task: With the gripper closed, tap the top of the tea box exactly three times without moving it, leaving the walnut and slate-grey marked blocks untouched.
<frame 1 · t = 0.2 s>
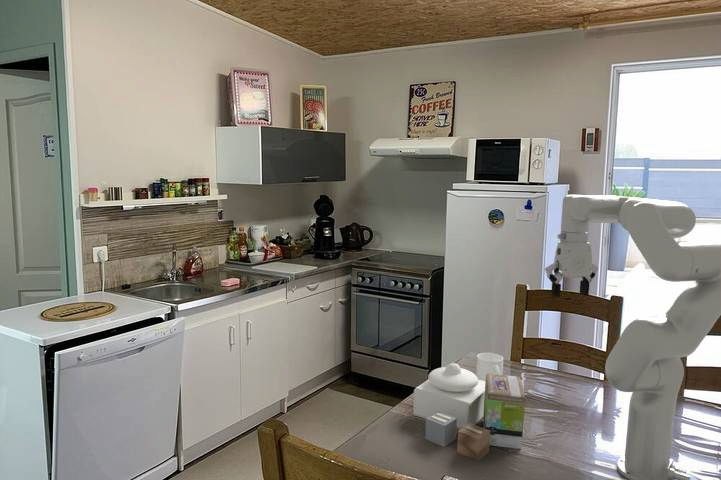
hand: (570, 295, 155), 37 cm above the table, tool pointing down, fingers open, 9 cm apart
walnut marked block: (473, 452, 137), on the table
tea box: (501, 434, 147), on the table
mug: (490, 389, 177), on the table
slate marked block: (440, 439, 144), on the table
butter dish: (452, 413, 160), on the table
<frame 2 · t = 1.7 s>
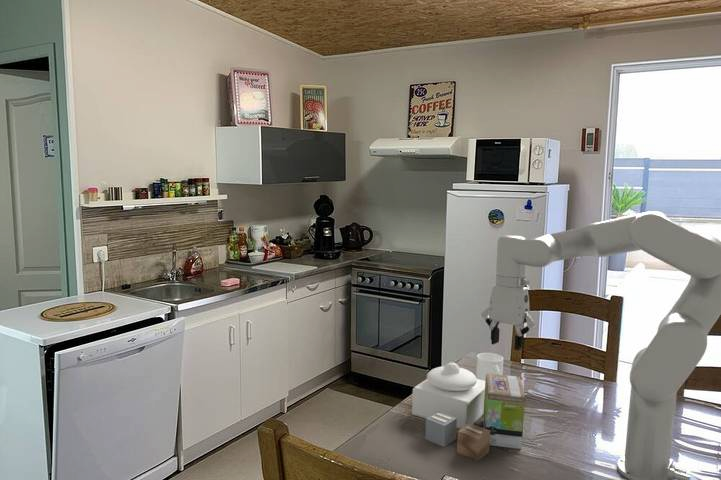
hand: (506, 345, 144), 26 cm above the table, tool pointing down, fingers open, 6 cm apart
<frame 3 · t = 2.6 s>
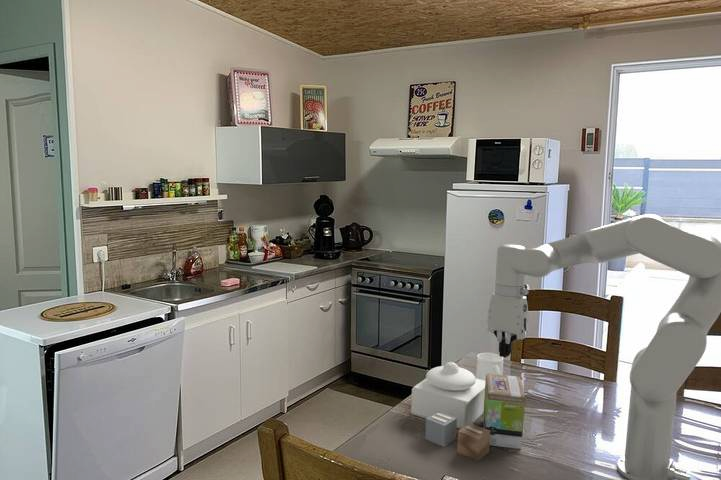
hand: (504, 355, 144), 23 cm above the table, tool pointing down, fingers closed
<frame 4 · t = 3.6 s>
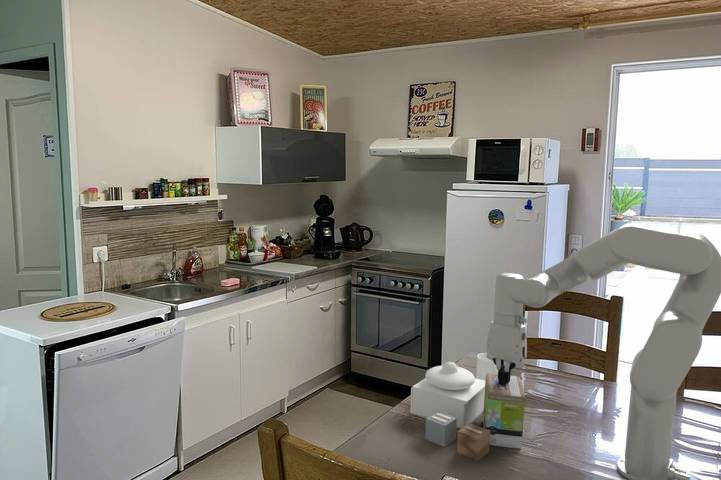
hand: (503, 383, 145), 15 cm above the table, tool pointing down, fingers closed
tea box: (501, 434, 147), on the table, touching gripper
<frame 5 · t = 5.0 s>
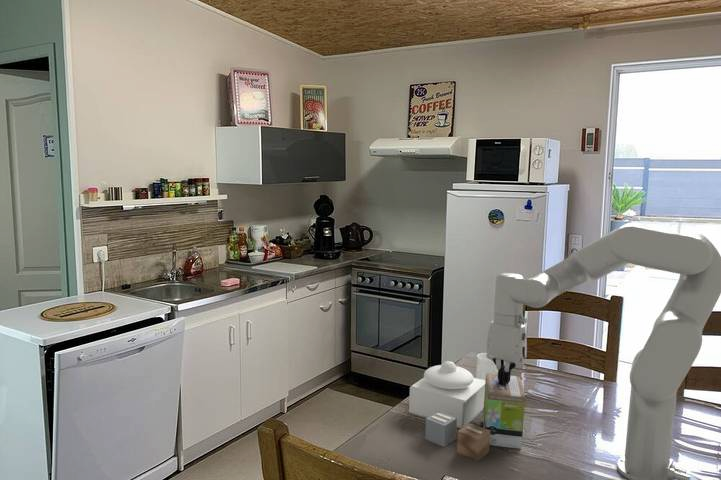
hand: (503, 383, 145), 15 cm above the table, tool pointing down, fingers closed
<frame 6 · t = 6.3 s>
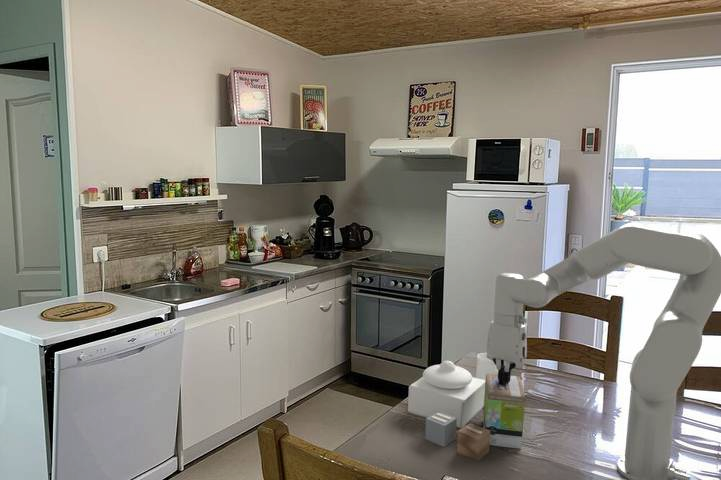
hand: (503, 383, 145), 15 cm above the table, tool pointing down, fingers closed
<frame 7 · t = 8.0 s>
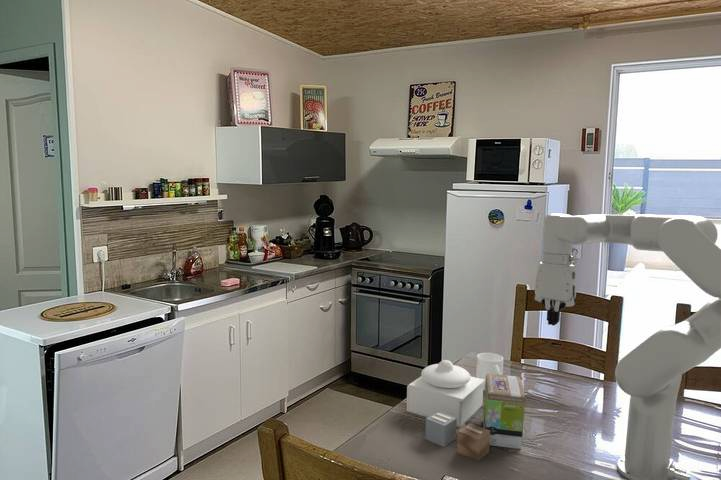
hand: (552, 323, 146), 31 cm above the table, tool pointing down, fingers closed
tea box: (501, 434, 147), on the table
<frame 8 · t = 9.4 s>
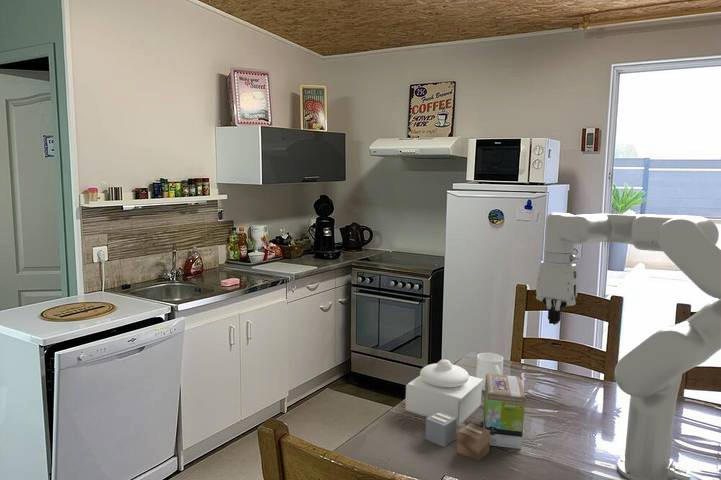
hand: (553, 323, 147), 31 cm above the table, tool pointing down, fingers closed
at the end: tea box moved 0.3 cm from its start; tea box tilted 0°; walnut marked block moved 0.1 cm from its start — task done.
